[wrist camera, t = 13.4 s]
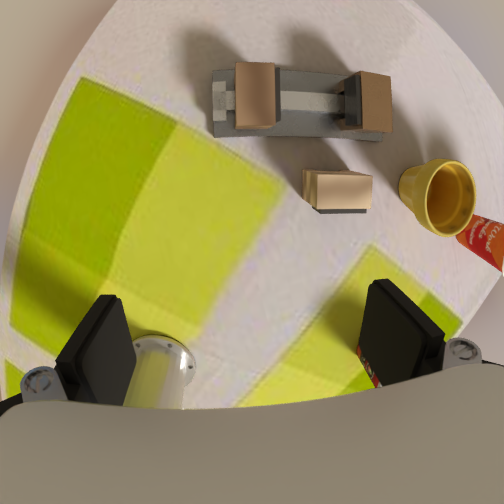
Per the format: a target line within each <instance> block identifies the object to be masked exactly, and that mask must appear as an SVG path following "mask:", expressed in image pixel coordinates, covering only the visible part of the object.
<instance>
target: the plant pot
mask: <svg viewBox="0 0 504 504" xmlns="http://www.w3.org/2000/svg"><path fill="white" fill-rule="evenodd" d="M399 195H400V198H401V200H402V202H403V203H404V204H405V205H406V206H407V207H408V208H409V209H410V210H411V211H412V212H413V213H414V214H415V216H416V218H417V220H418V221H419V223H420V224H421V225H422V226H423V227H425V228H426V229H428V230H429V231H431V232H433V233H435V234H437V235H439V236H442V237H451V236H454V235H457V234H458V233H460V232H461V231H462V230H463V229H464V228H465V227H466V226H467V225H468V223H469V221H470V219H471V217H472V215H473V212H474V209H475V204H476V187H475V182H474V179H473V176H472V174H471V172H470V171H469V170H468V168H467V167H466V166H465V165H464V164H462V163H461V162H459V161H456V160H451V159H434V160H431V161H429V162H427V163H426V164H425V165H421V166H416V167H411V168H409V169H407V170H406V171H405V172H404V173H403V174H402V176H401V178H400V181H399Z"/></svg>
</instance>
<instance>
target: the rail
mask: <svg viewBox="0 0 504 504" xmlns="http://www.w3.org/2000/svg"><path fill="white" fill-rule="evenodd" d="M234 73H235V70H216V71H213V82H212V99H213V122H214V138H220V137H247V136H298V137H325V138H342V139H356V140H367V141H378V142H382V133H388V132H393V126H392V94H391V78H390V76H385V75H380V74H375V73H370V72H364V71H359V72H357V73H355V74H353V75H351V76H343V75H335V74H326V73H316V72H304V71H289V70H280V95H281V121H279V122H277V123H276V125H274V126H272V127H270V128H268V129H235V89H234Z"/></svg>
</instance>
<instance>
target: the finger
mask: <svg viewBox="0 0 504 504" xmlns="http://www.w3.org/2000/svg"><path fill="white" fill-rule="evenodd" d="M234 89H235V129H268V128H270V127H272V126H274V125H276V123H277V122H279V121H281V95H280V68H274V63H261V62H236V65H235V73H234Z"/></svg>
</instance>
